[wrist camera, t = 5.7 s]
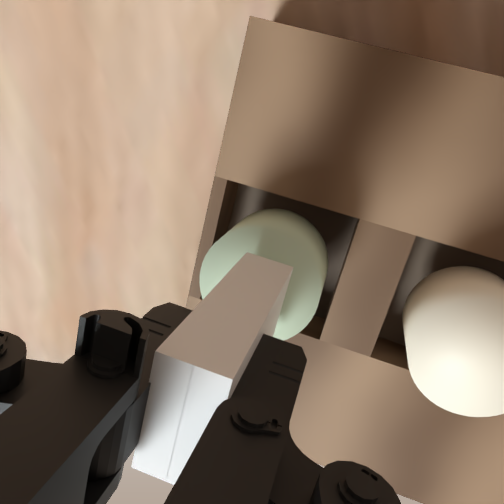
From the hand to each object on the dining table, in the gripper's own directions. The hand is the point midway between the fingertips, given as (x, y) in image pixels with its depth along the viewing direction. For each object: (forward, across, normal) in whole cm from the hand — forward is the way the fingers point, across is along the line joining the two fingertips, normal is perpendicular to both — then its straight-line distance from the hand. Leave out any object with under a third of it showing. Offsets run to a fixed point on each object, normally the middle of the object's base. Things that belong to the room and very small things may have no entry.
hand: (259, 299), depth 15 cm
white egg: (+4, +7, 0) cm, 8 cm away
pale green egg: (+4, 0, 0) cm, 4 cm away
